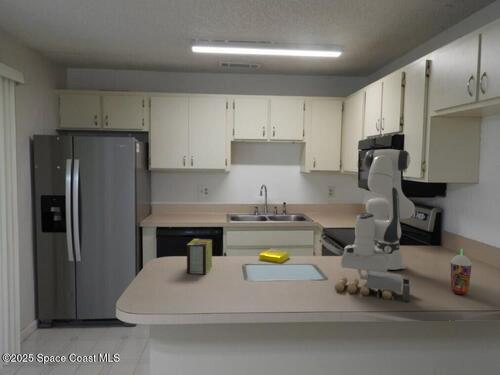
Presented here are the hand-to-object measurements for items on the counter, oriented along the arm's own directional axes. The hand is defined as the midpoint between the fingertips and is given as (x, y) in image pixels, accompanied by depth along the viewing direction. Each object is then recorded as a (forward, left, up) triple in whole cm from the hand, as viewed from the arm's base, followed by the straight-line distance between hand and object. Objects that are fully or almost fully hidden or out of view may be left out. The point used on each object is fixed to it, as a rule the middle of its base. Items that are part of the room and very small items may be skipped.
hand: (363, 279), depth 161 cm
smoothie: (-18, +41, -6) cm, 45 cm away
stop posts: (0, +18, -6) cm, 19 cm away
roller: (0, +10, -6) cm, 11 cm away
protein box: (+4, -84, -6) cm, 85 cm away
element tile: (-35, -55, -6) cm, 65 cm away
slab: (0, +9, -2) cm, 9 cm away
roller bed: (0, -4, -6) cm, 7 cm away
